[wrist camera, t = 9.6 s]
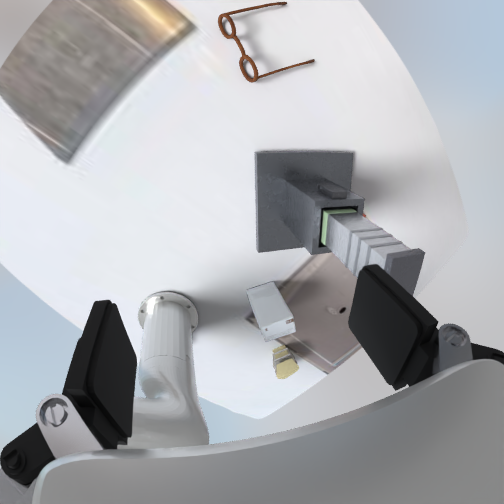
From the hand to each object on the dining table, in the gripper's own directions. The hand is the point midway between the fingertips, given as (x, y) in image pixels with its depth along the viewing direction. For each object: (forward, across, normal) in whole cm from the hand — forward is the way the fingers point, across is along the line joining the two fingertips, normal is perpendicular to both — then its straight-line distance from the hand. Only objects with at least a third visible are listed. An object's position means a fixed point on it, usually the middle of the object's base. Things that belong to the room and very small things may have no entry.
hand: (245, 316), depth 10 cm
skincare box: (+38, -10, +27) cm, 48 cm away
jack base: (+38, -18, +8) cm, 43 cm away
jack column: (+31, -18, +8) cm, 37 cm away
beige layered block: (+39, -15, +48) cm, 63 cm away
